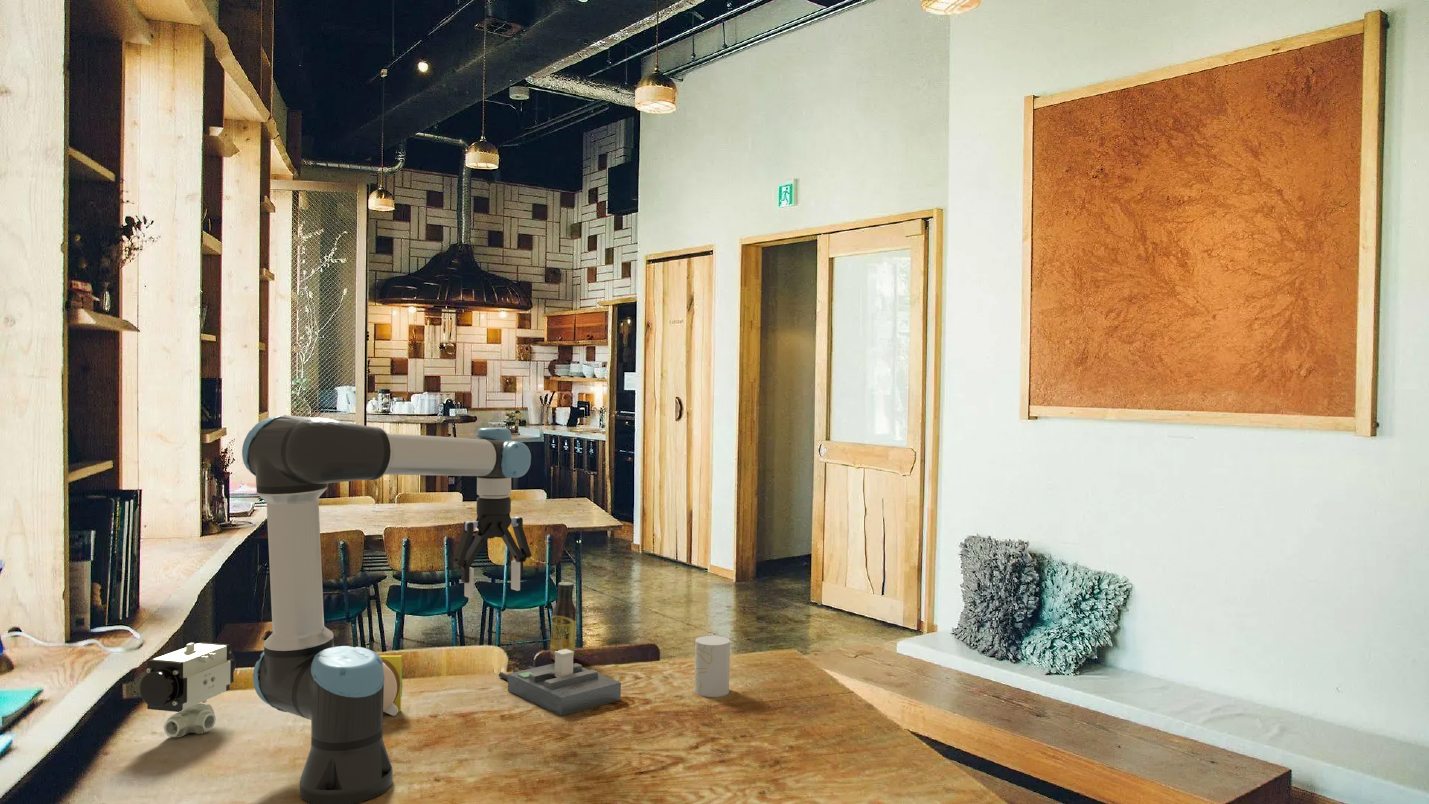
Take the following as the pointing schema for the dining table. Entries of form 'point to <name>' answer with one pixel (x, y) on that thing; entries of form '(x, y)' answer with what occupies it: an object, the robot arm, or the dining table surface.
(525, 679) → the grey slider base
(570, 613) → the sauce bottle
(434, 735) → the dining table surface
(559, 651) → the lever
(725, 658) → the white cylinder
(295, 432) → the robot arm
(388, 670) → the yellow block with disc
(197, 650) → the ball valve
